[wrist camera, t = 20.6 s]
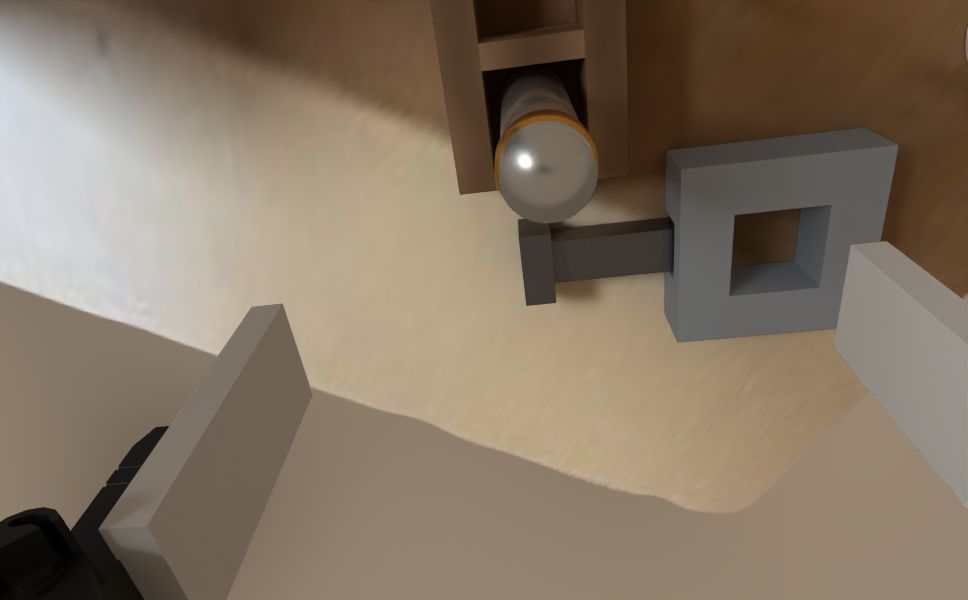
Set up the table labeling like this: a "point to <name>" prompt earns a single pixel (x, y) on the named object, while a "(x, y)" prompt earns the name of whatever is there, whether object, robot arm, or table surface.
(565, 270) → the dark grey t-shaped block
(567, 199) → the rod
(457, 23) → the rack
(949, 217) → the table surface
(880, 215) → the socket block
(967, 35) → the cup
